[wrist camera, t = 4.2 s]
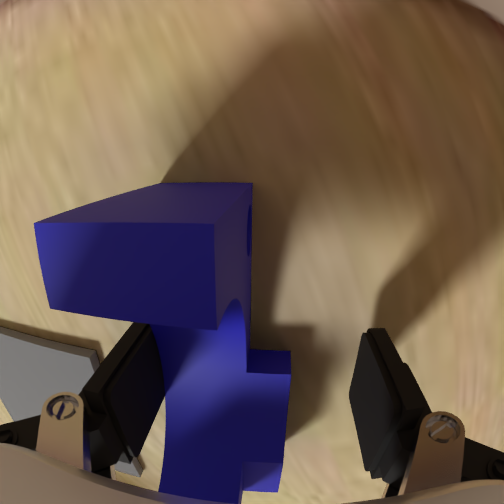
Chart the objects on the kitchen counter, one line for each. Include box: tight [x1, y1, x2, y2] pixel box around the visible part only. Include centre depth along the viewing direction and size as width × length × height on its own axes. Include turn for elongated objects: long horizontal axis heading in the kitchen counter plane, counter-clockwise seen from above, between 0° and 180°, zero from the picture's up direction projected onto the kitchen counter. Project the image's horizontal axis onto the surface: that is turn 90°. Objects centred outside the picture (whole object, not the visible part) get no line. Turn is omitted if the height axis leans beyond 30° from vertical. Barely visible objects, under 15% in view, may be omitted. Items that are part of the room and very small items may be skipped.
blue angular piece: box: [34, 182, 291, 504], centre depth 8 cm, size 12×4×6 cm, turn 179°
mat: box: [0, 326, 143, 477], centre depth 14 cm, size 11×10×1 cm
